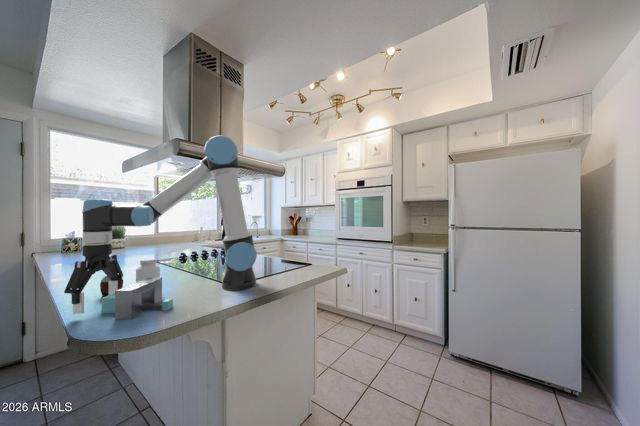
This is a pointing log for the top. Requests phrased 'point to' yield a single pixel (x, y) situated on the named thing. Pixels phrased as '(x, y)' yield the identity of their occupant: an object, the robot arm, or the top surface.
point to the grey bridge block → (137, 297)
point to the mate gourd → (105, 285)
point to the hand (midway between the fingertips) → (97, 305)
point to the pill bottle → (147, 269)
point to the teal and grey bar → (167, 304)
